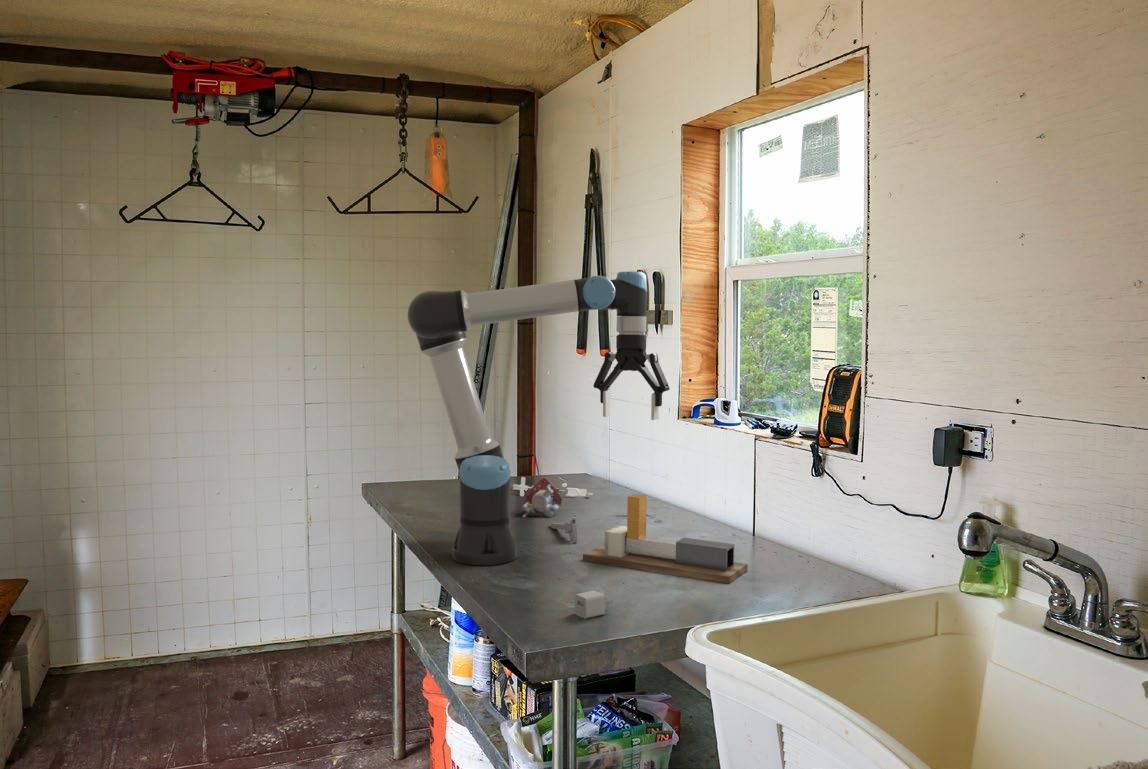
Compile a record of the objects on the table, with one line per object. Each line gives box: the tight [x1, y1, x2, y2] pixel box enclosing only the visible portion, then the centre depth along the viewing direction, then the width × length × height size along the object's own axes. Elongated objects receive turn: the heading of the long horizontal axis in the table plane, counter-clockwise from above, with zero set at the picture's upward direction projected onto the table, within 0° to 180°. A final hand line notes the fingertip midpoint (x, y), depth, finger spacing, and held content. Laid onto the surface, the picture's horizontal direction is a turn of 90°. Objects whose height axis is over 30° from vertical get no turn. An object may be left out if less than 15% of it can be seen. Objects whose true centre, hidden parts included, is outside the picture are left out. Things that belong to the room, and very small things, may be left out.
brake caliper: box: [522, 476, 563, 518], centre depth 259 cm, size 11×11×12 cm
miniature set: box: [510, 476, 594, 498], centre depth 293 cm, size 6×35×12 cm
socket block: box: [604, 525, 629, 557], centre depth 212 cm, size 8×4×6 cm, turn 150°
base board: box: [582, 543, 749, 584], centre depth 206 cm, size 12×36×2 cm, turn 60°
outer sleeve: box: [676, 537, 735, 571], centre depth 201 cm, size 5×12×5 cm, turn 60°
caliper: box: [549, 518, 578, 544], centre depth 236 cm, size 20×1×6 cm, turn 19°
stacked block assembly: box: [625, 493, 678, 559], centre depth 206 cm, size 4×22×13 cm, turn 60°
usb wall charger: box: [573, 590, 614, 619], centre depth 172 cm, size 4×7×4 cm, turn 125°
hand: (630, 418), depth 226 cm, fingers open, 13 cm apart
